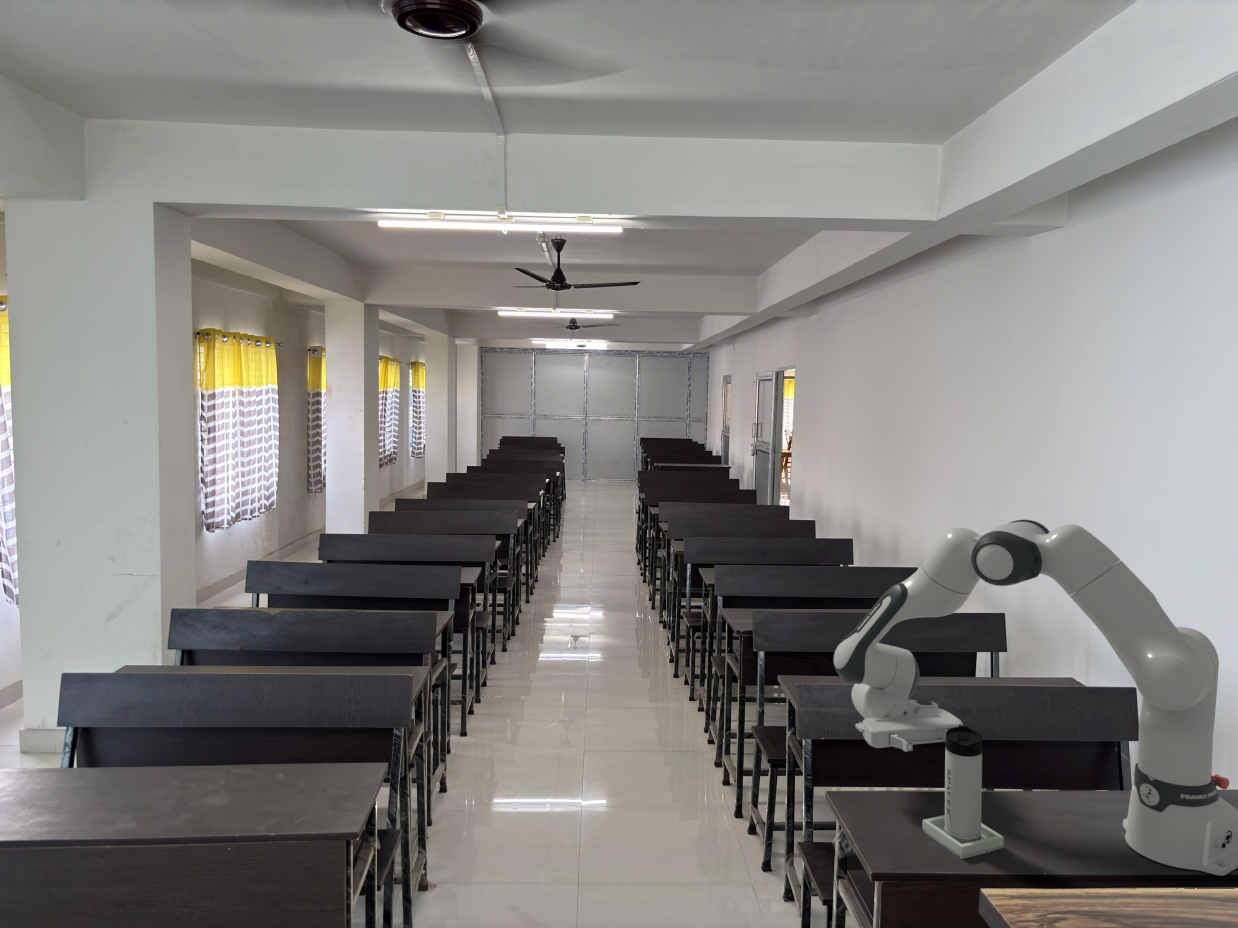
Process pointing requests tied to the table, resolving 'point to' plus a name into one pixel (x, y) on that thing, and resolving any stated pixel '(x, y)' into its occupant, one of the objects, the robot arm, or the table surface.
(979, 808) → the travel mug
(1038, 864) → the table surface
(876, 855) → the table surface
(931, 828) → the tray
